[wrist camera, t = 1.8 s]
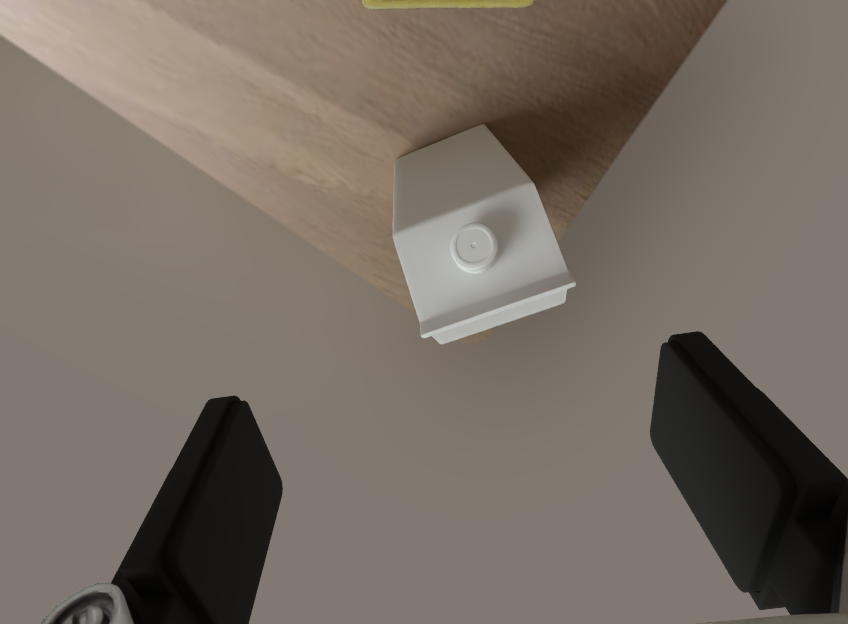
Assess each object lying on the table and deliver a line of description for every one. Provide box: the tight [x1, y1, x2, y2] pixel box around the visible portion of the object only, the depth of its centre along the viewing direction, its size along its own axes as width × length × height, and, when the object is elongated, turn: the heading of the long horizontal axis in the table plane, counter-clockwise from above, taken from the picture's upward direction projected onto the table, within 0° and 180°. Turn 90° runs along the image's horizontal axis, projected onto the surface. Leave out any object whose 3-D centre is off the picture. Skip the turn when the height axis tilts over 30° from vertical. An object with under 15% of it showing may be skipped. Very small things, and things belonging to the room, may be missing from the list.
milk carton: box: [393, 124, 576, 344], centre depth 29 cm, size 7×7×19 cm
